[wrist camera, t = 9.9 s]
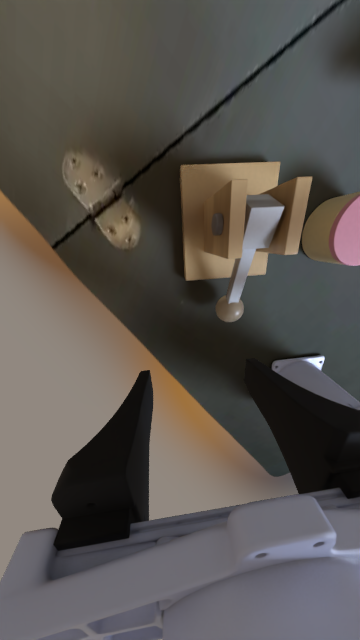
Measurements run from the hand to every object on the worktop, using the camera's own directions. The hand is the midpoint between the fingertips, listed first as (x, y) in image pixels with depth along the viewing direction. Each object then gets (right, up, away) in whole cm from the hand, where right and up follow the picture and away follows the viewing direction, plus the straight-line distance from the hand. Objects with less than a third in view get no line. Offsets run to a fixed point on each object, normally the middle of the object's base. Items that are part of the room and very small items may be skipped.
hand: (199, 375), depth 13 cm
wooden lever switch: (+3, +14, +6) cm, 15 cm away
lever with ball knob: (+4, +9, +4) cm, 11 cm away
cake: (+15, +14, +7) cm, 22 cm away
